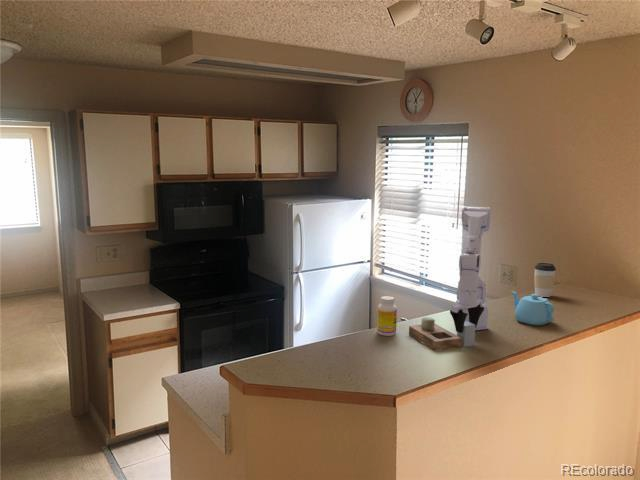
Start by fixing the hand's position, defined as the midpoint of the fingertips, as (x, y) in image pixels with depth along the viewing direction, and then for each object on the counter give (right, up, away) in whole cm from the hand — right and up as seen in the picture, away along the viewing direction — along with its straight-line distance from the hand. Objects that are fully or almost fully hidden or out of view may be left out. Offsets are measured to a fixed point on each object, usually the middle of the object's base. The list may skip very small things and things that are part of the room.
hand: (466, 329), depth 168 cm
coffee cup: (+53, +4, +64) cm, 83 cm away
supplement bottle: (-25, -3, +11) cm, 27 cm away
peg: (0, -5, +1) cm, 5 cm away
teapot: (+32, -2, +26) cm, 42 cm away
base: (-10, -4, +4) cm, 11 cm away
